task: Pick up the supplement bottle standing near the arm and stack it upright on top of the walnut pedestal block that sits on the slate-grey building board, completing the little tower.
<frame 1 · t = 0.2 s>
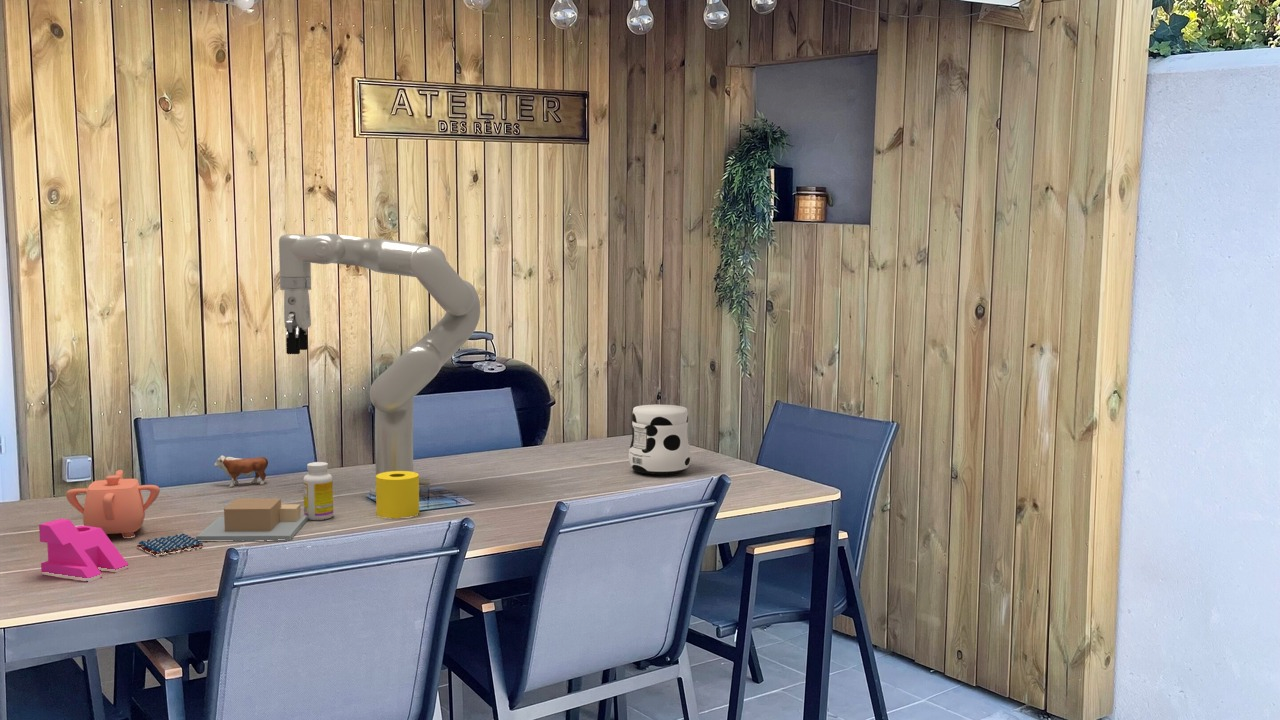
hand: (297, 351, 305), 36 cm above the table, tool pointing down, fingers open, 9 cm apart
bull figurine: (242, 486, 318), on the table
building board: (253, 530, 272), on the table
teapot: (115, 534, 269), on the table
milk container: (659, 472, 339), on the table
woven mat: (170, 551, 258), on the table
bracket: (85, 573, 240), on the table
yellow toilet paper roll: (398, 514, 289), on the table
supplement bottle: (318, 518, 285), on the table
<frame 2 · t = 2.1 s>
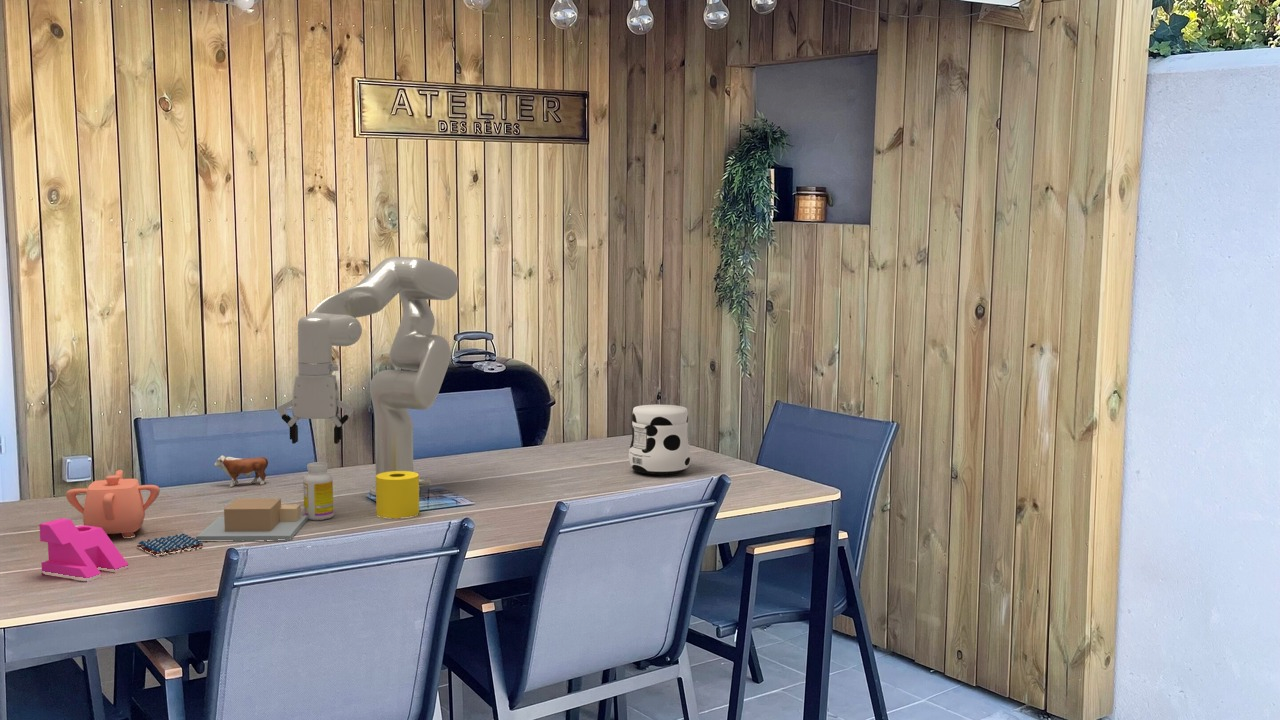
hand: (316, 442, 282), 18 cm above the table, tool pointing down, fingers open, 9 cm apart
nothing on the table moved.
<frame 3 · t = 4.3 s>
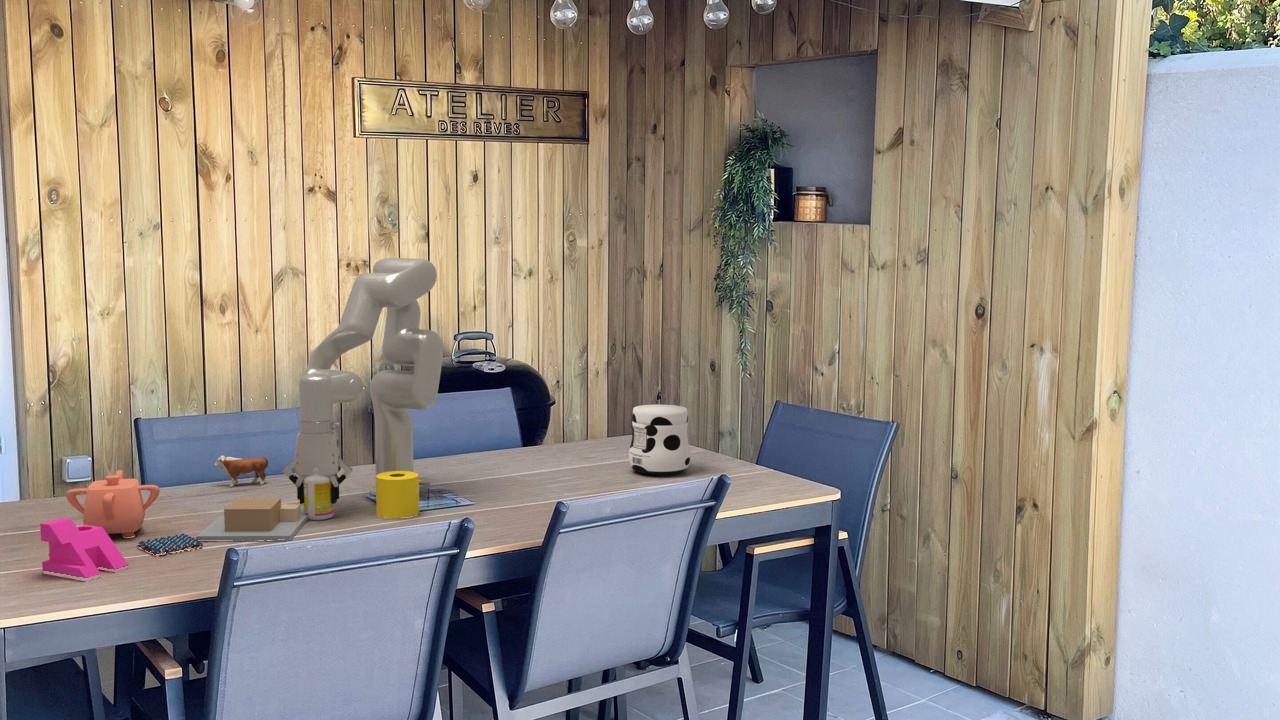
hand: (318, 501, 284), 4 cm above the table, tool pointing down, fingers closed on supplement bottle, 6 cm apart
supplement bottle: (318, 518, 285), on the table, touching gripper
everything else where it was.
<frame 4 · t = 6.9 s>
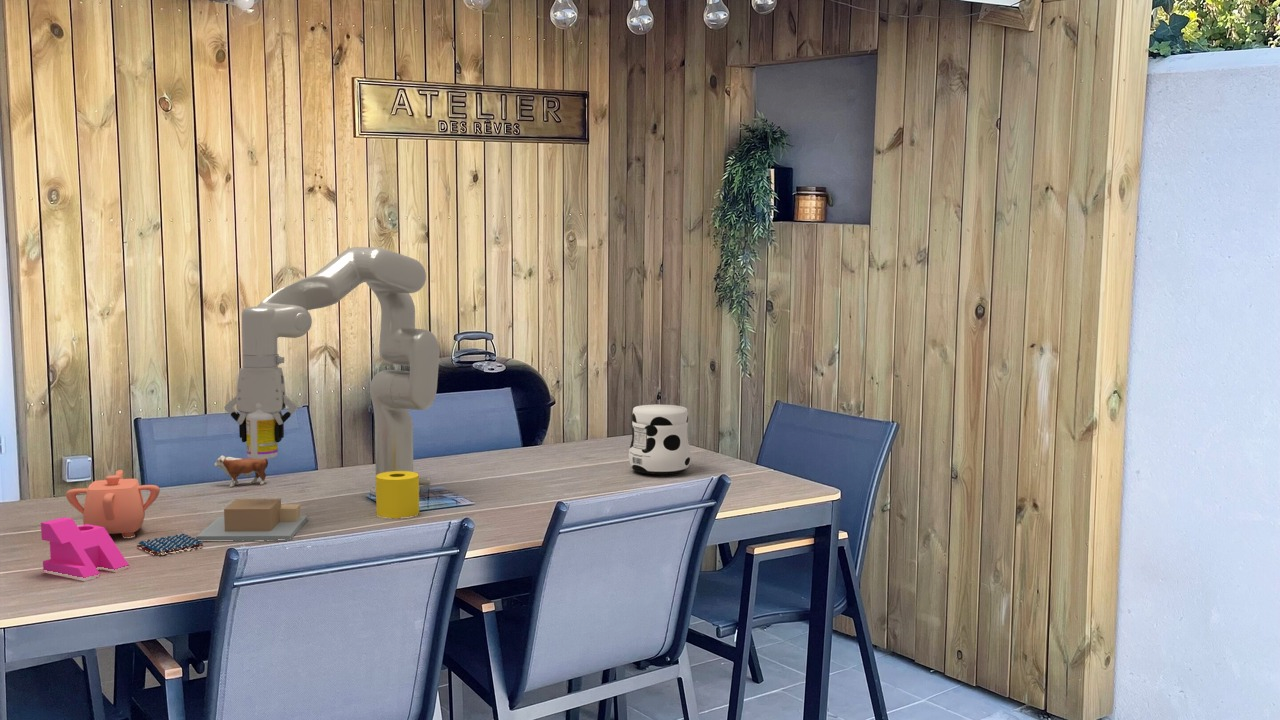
hand: (261, 440, 272), 20 cm above the table, tool pointing down, fingers closed on supplement bottle, 6 cm apart
supplement bottle: (262, 457, 272), point 16 cm above the table, touching gripper
everything else where it was.
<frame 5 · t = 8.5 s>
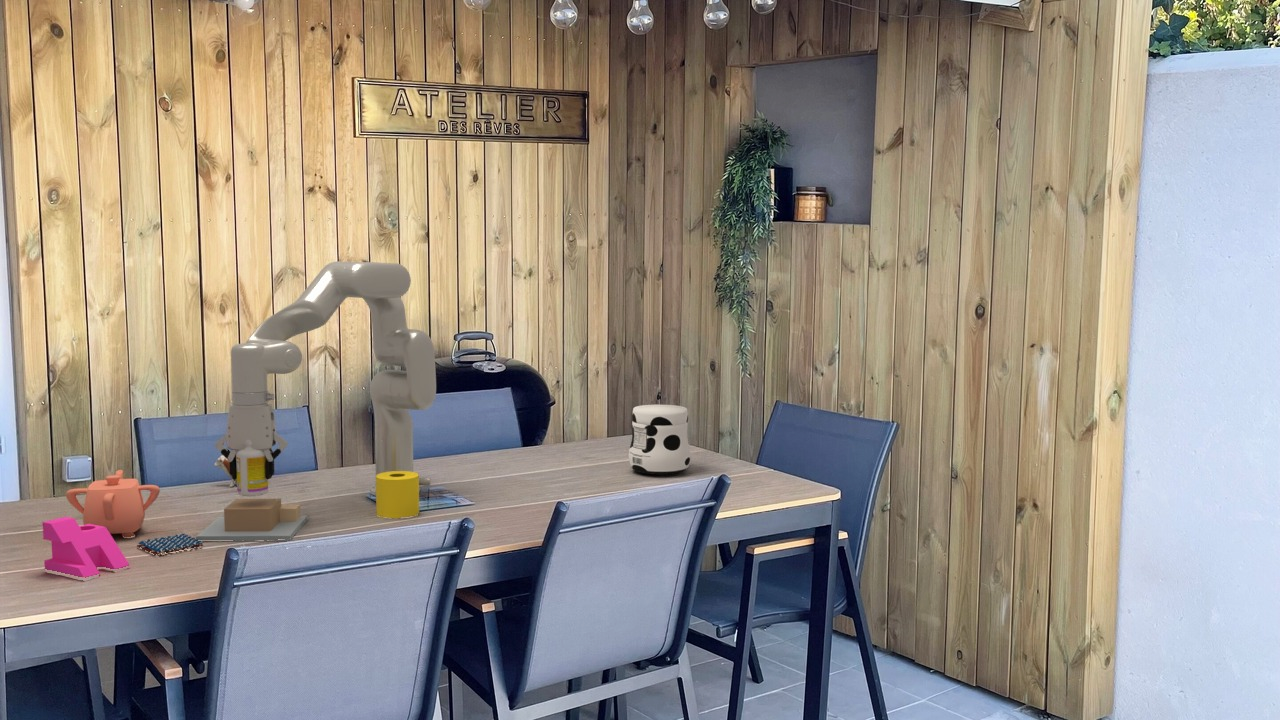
hand: (252, 477, 271), 12 cm above the table, tool pointing down, fingers closed on supplement bottle, 6 cm apart
supplement bottle: (252, 494, 271), point 8 cm above the table, touching gripper
everything else where it was.
when the fingers open (11 cm above the table, at t = 9.6 s): supplement bottle drops 1 cm, resting on building board.
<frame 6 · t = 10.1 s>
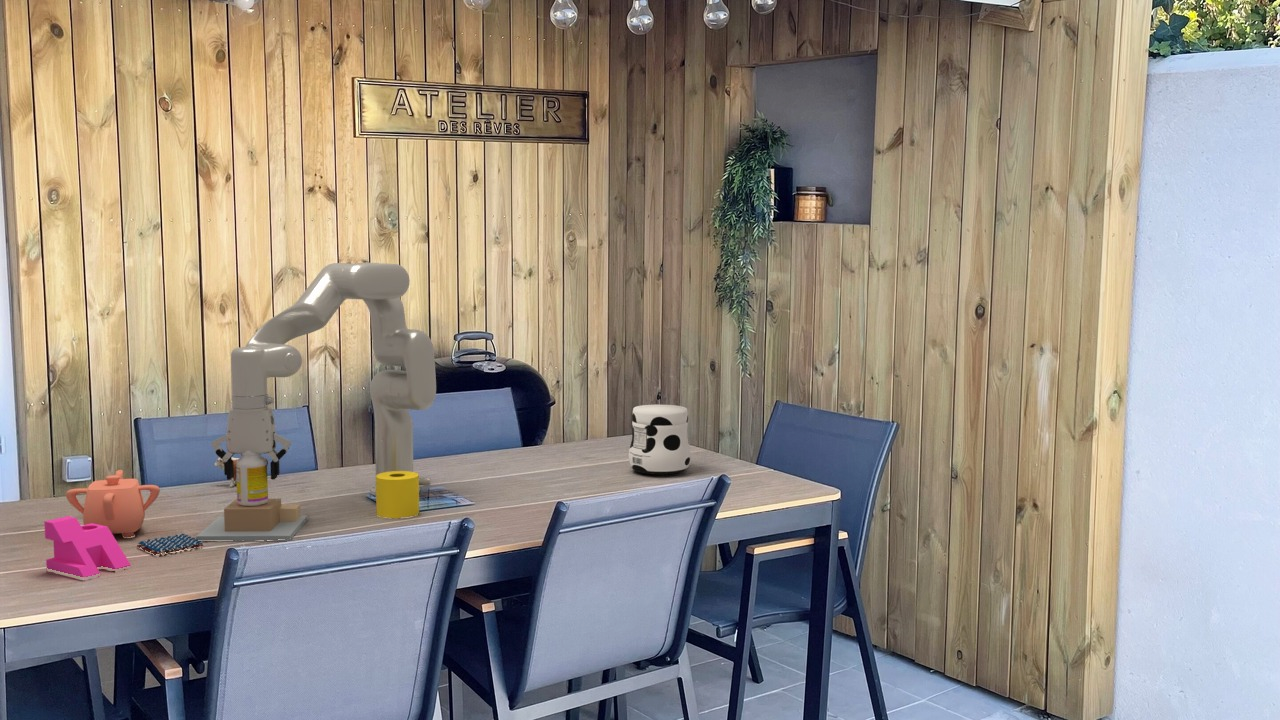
hand: (252, 478, 271), 12 cm above the table, tool pointing down, fingers open, 9 cm apart
supplement bottle: (252, 504, 272), point 6 cm above the table, touching building board
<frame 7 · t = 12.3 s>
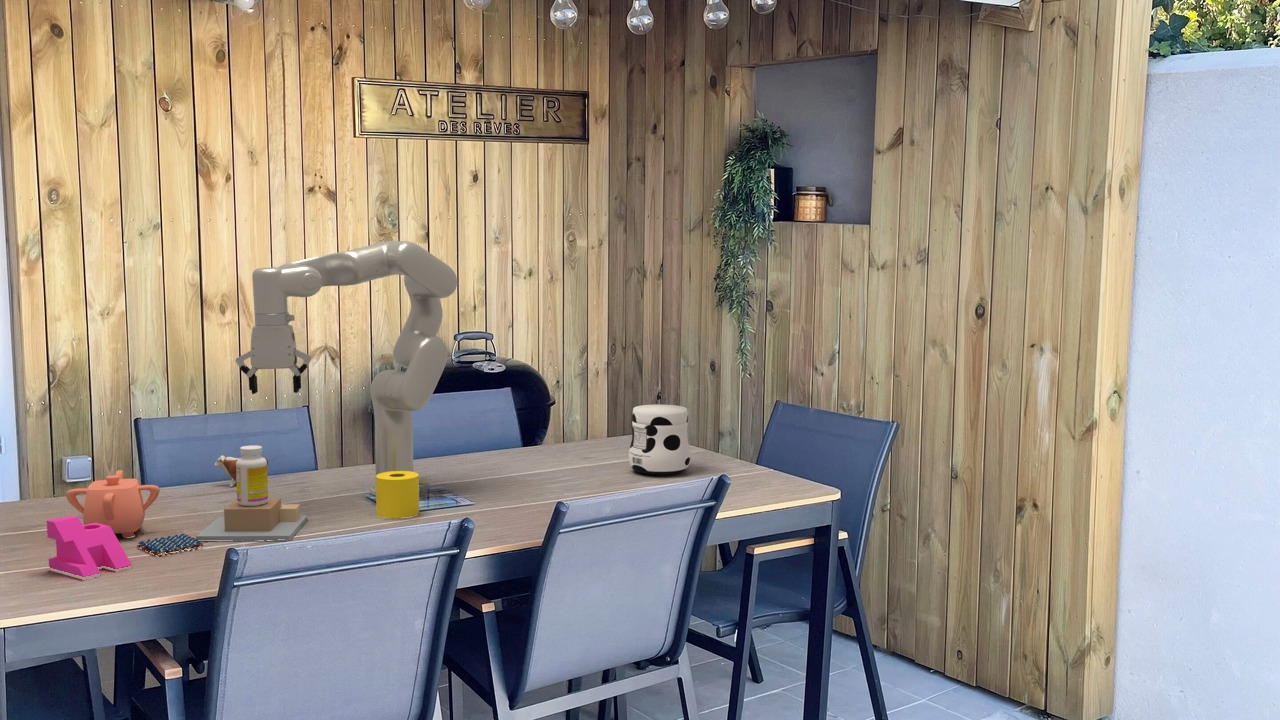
hand: (275, 392, 286), 29 cm above the table, tool pointing down, fingers open, 9 cm apart
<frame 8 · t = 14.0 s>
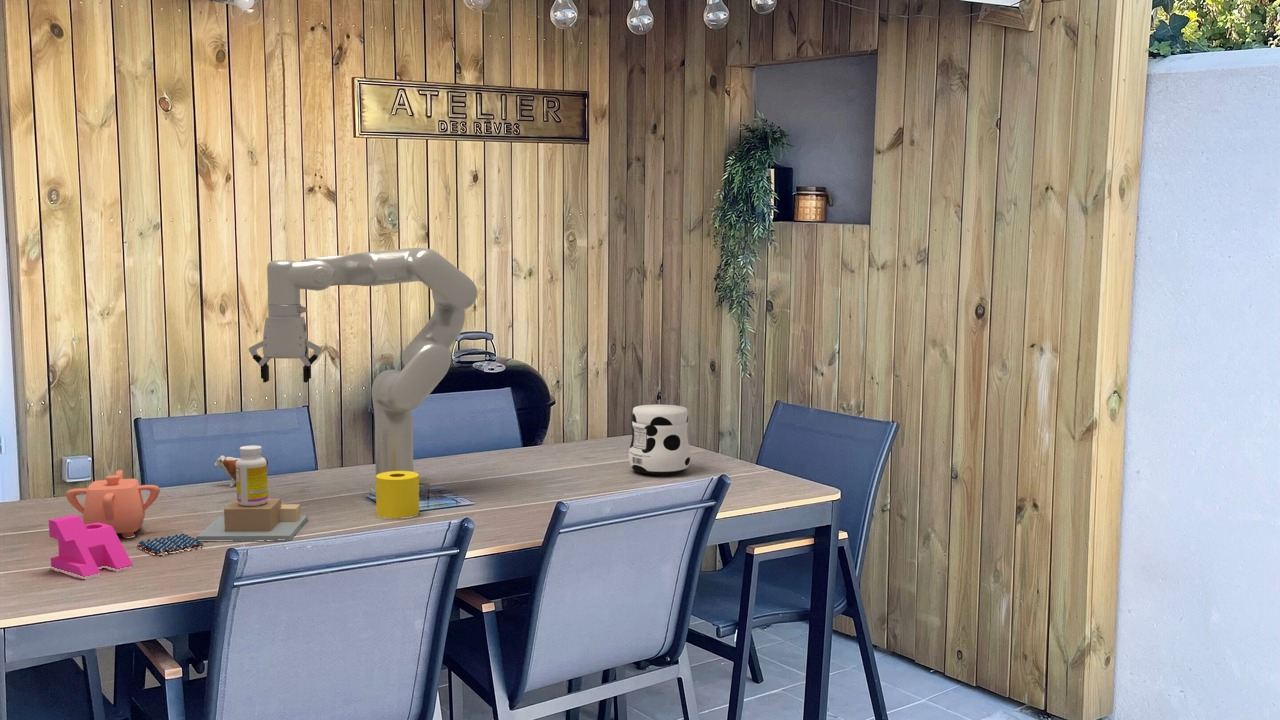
hand: (286, 381, 295), 30 cm above the table, tool pointing down, fingers open, 9 cm apart
at the end: supplement bottle inside the target area on the building board (0.1 cm from its centre), point 6.0 cm above the building board's base; supplement bottle tilted 0°; the gripper is holding nothing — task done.
